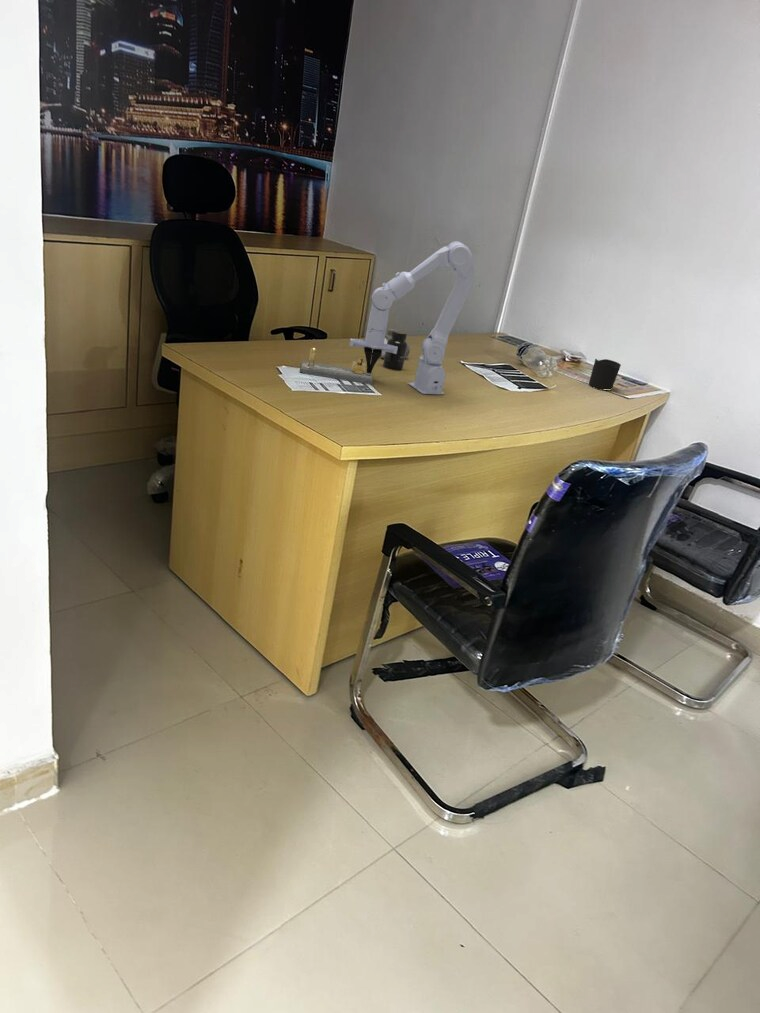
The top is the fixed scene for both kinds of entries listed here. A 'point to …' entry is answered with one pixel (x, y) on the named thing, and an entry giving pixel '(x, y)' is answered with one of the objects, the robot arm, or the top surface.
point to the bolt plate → (333, 370)
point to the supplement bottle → (397, 359)
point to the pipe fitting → (387, 341)
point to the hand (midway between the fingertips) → (368, 372)
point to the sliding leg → (359, 366)
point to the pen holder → (604, 374)
